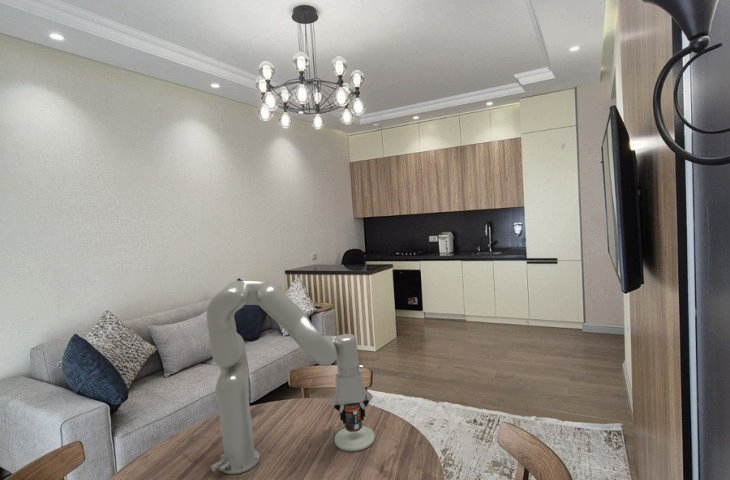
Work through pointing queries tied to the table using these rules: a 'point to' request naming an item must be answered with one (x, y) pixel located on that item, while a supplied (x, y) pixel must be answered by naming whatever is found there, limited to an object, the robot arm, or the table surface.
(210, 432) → the table surface
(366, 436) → the dish
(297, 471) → the table surface
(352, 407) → the supplement bottle
